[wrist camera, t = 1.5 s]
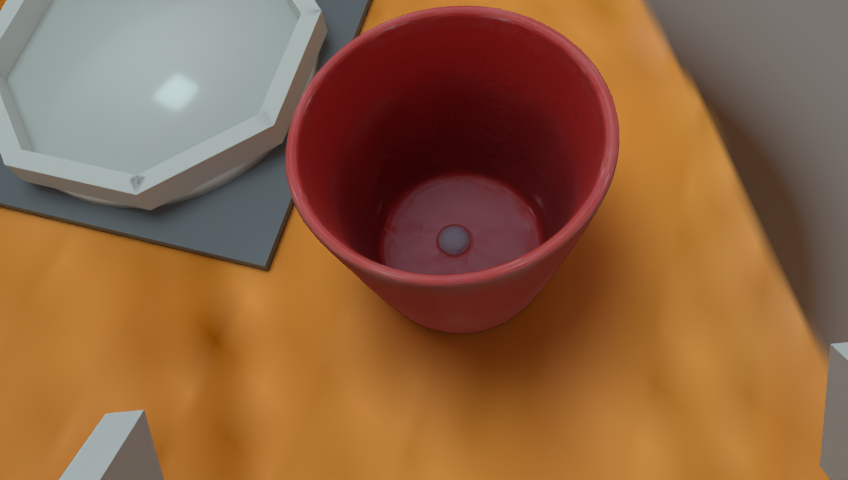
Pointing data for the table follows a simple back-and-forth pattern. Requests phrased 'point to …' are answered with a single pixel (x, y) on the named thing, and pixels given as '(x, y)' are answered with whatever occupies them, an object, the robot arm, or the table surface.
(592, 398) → the table surface
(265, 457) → the table surface
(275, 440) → the table surface
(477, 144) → the flower pot
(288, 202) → the grey octagonal tray
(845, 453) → the robot arm
